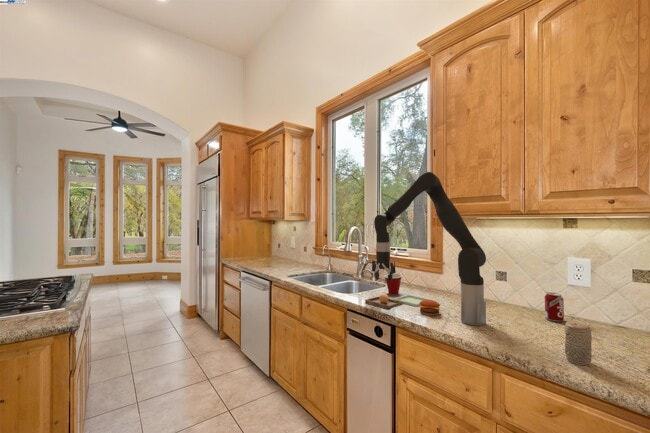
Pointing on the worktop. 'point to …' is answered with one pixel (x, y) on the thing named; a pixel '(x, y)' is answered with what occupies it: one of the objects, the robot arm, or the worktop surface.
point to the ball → (383, 298)
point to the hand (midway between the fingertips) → (383, 280)
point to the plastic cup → (393, 284)
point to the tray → (387, 305)
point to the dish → (411, 300)
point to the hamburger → (429, 307)
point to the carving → (578, 343)
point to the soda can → (554, 307)
